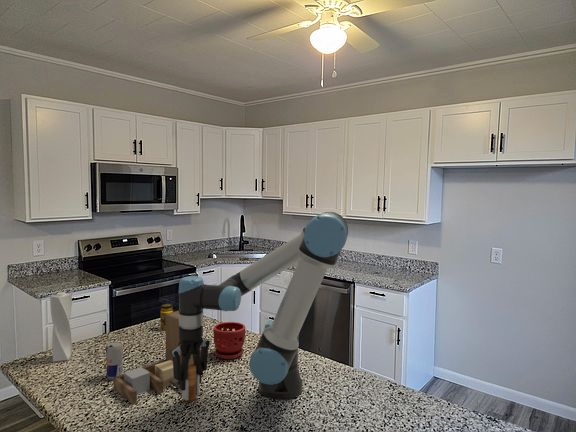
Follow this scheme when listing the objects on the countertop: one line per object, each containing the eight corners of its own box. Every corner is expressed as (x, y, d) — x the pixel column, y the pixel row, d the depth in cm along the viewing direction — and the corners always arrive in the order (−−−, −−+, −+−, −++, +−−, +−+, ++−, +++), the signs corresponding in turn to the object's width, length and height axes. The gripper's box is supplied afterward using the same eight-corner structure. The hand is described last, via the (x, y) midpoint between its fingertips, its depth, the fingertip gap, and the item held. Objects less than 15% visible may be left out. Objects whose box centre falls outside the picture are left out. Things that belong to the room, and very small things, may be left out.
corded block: (201, 397, 126) (201, 365, 125) (185, 404, 122) (185, 371, 121) (170, 376, 140) (170, 346, 139) (154, 381, 136) (154, 351, 135)
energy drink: (104, 376, 138) (103, 344, 138) (118, 371, 142) (118, 340, 142) (110, 382, 135) (109, 348, 134) (125, 376, 139) (125, 344, 138)
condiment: (161, 333, 181) (161, 308, 180) (156, 327, 188) (156, 303, 187) (177, 330, 186) (177, 305, 185) (171, 324, 192) (171, 301, 192)
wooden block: (186, 355, 157) (186, 307, 156) (201, 363, 151) (201, 313, 150) (164, 364, 150) (164, 313, 148) (179, 372, 143) (179, 319, 142)
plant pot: (250, 356, 158) (251, 327, 157) (221, 364, 150) (221, 334, 150) (236, 345, 169) (236, 318, 168) (208, 352, 161) (208, 324, 160)
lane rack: (187, 382, 135) (187, 371, 135) (133, 404, 121) (132, 392, 121) (166, 369, 145) (166, 359, 145) (113, 388, 130) (113, 377, 130)
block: (149, 389, 130) (149, 372, 130) (132, 396, 126) (132, 378, 126) (141, 383, 134) (141, 366, 134) (124, 390, 130) (124, 372, 130)
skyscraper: (76, 353, 157) (75, 285, 155) (72, 361, 150) (70, 290, 148) (52, 355, 155) (51, 287, 153) (47, 364, 147) (45, 292, 145)
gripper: (205, 316, 132) (205, 382, 134) (161, 328, 120) (161, 401, 121) (219, 322, 127) (218, 390, 128) (174, 335, 115) (174, 411, 116)
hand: (190, 395), depth 125 cm, fingers closed on corded block, 3 cm apart
